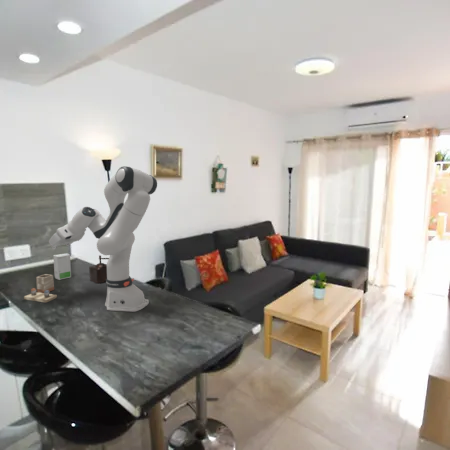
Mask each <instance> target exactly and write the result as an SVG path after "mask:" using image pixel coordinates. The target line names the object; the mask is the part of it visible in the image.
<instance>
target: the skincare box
mask: <svg viewBox="0 0 450 450" xmlns="http://www.w3.org/2000/svg"><path fill="white" fill-rule="evenodd" d="M52 256H53V269H54V270H53V271H54V273H53V275H54V279H55V280H59V281H60V280H65V279H68V278H69V279H70V278H72V268H71V254H69V253H60V254H53V255H52Z"/></svg>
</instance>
